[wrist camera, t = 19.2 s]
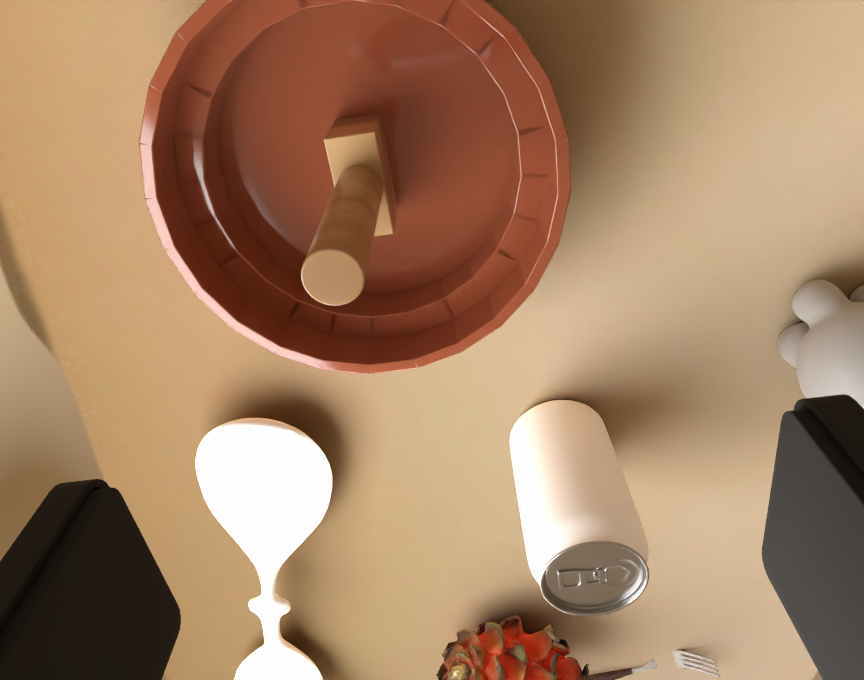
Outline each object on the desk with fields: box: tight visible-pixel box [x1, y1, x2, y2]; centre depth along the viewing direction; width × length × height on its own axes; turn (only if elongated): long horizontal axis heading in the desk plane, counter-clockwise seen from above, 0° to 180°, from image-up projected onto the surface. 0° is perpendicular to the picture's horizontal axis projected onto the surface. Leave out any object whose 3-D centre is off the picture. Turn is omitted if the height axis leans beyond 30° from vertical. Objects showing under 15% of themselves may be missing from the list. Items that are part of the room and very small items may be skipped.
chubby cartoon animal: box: [777, 279, 864, 409], centre depth 38 cm, size 7×12×8 cm, turn 174°
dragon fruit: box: [436, 615, 589, 680], centre depth 52 cm, size 8×8×12 cm
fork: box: [585, 650, 720, 680], centre depth 57 cm, size 3×16×2 cm, turn 112°
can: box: [510, 400, 649, 616], centre depth 39 cm, size 6×6×12 cm
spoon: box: [196, 418, 332, 680], centre depth 50 cm, size 9×32×4 cm, turn 176°
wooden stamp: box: [301, 113, 397, 306], centre depth 29 cm, size 5×2×14 cm, turn 8°
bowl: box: [139, 0, 571, 374], centre depth 33 cm, size 19×19×6 cm
